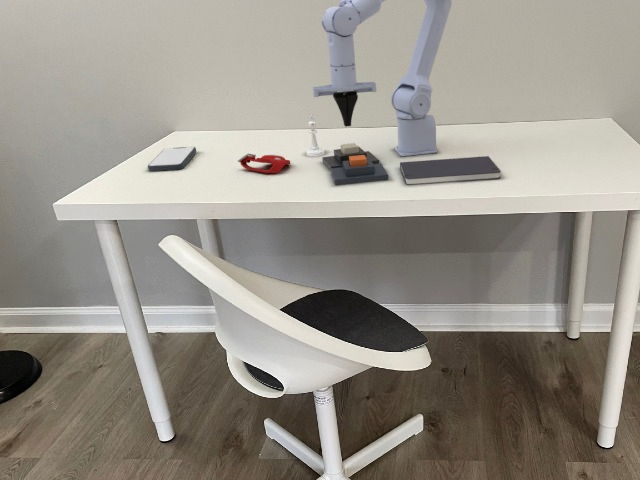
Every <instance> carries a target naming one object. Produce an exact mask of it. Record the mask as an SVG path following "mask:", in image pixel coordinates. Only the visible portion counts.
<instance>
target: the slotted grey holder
mask: <svg viewBox="0 0 640 480" xmlns="http://www.w3.org/2000/svg"><path fill="white" fill-rule="evenodd" d="M342 162H343V167H340V168H331V171H330V174H331V175H330V176H331V177H332V181H333V183H334V186H345V185H356V184H364V183H374V182H375V183H376V182H386V181H389V174H388V172H387V170H386V169H385V167H384V165H383V164H382V163H379V164H373V163H372V161H371V159H367V166H357V167H351V166H350V163H349V161H342Z"/></svg>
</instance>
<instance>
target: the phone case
mask: <svg viewBox="0 0 640 480" xmlns="http://www.w3.org/2000/svg"><path fill="white" fill-rule="evenodd" d="M196 153H197V148H196V147H195V146H181V147H167V148H164V149H162V150H161V151H160V153H158V154H157V156H156V157H155V158H153V159H152V161H151V162H150V163H149V164H148V165H147V169H148V170H147V171H149V172H161V171H163V172H164V171H180V170H183V169H184V168H185V167H186V166H187V164H188V163H189V162H190V160H191V159H192V158H193V157H194V155H196Z"/></svg>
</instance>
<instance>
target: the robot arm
mask: <svg viewBox="0 0 640 480" xmlns="http://www.w3.org/2000/svg"><path fill="white" fill-rule="evenodd" d="M385 1H386V0H339V5H338V6H331V7H329V8H327V9H326V11H325V12H324V13H325V14H323V16H322V20H321V22H320V23H321V26H322V28H323V30H324V31H325V32H326V35H327V46H328V47H327V48H328V58H329V68H330V81H331V84H327V85H319V86H312V94H313V97H314V98H319V97H324V96H326V97H327V96H332V98H333V100H334V101H335V104H336V106H337V107H338V110H339V112H340V114H341V115H340V116H341V118H342V122H343V126H344V127H345V128H346V127H352V119H353V114H354V110H355V107H356V104H357V102H358V98H359V95H358V94H359V93H369V92H371V93H376V92H377V83H376V82H375V81H367V82H365V81H364V82H363V81H362V82H361V81H360V82H357V71H356V69H357V68H356V56H355V42H354V33H355V32H356V30H357V28H358V26H360V25H361V24H362V23H364V22H366V21H367V20H369V19H370V18H371V17H373V16H375V15H376V14H377V13H378V12H380V10H381V7H382V3H384V2H385ZM423 1H424V3H425V5H426V9H425V12H424V16H423V19H422V22H421V25H420V29H419V33H418V36H417V39H416V42H415V45H414V49H413V53H412V55H411V59H410V63H409V66H408V69H407V73H405V74H404V75H403V76H402V77H401V78H400V79H399V82H398V84H397V86H396V88H395V89H394V90H393V92H392V94H391V96H390V97H391V98H390V102H391V106H392V108H393V109H394V110H395V111H396V112H395V113H396V127H397V145H398V146H394V147H393V149H394V150H395V152H396V153H397V154H398V155H399V156H400V157H410V156H419V155H426V154H437V153H438V150H437V124H436V119H435V116H434V115H433V114H428V113H429V112H430V109H431V107H432V92H433V87H432V85H431V82H430V76H431V73H432V71H433V67H434V64H435V60H436V57H437V54H438V51H439V47H440V44H441V41H442V38H443V34H444V30H445V27H446V24H447V21H448V18H449V14H450V11H451V8H452V3H453V2H452V1H453V0H423Z"/></svg>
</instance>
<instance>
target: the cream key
mask: <svg viewBox="0 0 640 480" xmlns="http://www.w3.org/2000/svg"><path fill="white" fill-rule="evenodd" d="M339 147H340V149H341V152H342V153H343V154H352V153H359V147H360V146H359V145H357V144H356V143H355V142H351V143H344V144H340V146H339Z"/></svg>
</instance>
